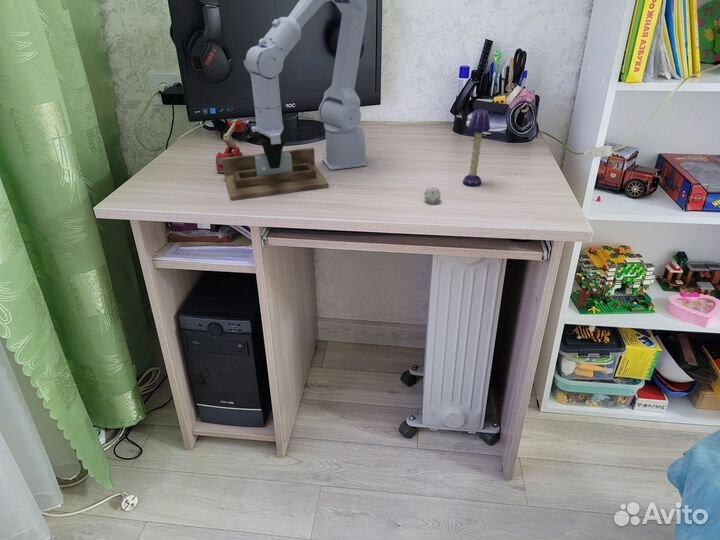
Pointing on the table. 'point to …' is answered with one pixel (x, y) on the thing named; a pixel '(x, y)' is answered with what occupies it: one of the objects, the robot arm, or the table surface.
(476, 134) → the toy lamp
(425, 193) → the game die
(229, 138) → the toy fire truck
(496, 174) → the table surface
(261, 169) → the grey-blue rectangular block
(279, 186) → the track base
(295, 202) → the table surface
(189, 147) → the table surface
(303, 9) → the robot arm
